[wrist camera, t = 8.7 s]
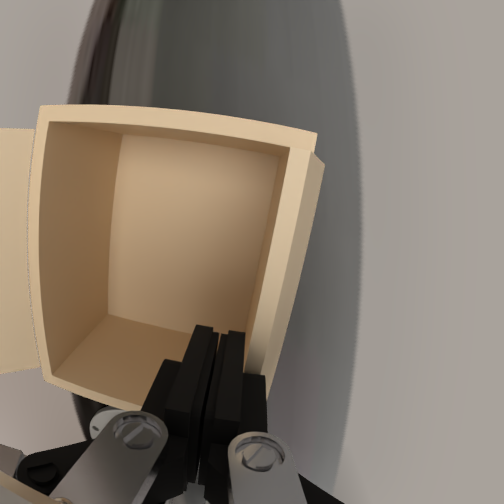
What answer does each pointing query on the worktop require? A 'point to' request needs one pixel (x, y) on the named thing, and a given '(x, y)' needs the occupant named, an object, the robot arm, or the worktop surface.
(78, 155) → the carton
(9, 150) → the flap
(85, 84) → the worktop surface
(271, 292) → the flap
